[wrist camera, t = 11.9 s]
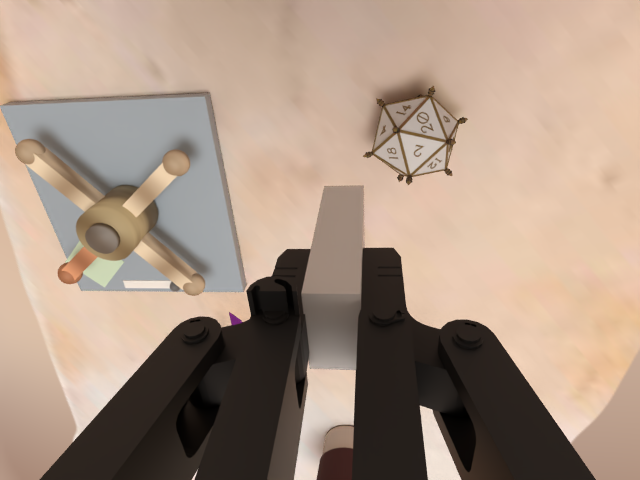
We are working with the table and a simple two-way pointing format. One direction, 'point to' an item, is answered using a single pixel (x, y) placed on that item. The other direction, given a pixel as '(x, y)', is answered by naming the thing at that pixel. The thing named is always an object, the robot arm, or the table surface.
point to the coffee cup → (337, 454)
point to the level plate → (140, 181)
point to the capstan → (115, 216)
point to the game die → (415, 136)
